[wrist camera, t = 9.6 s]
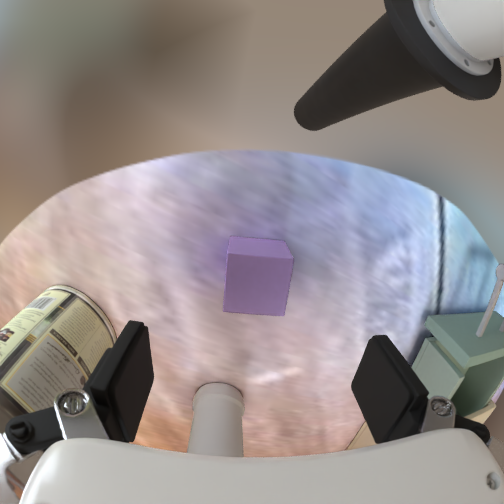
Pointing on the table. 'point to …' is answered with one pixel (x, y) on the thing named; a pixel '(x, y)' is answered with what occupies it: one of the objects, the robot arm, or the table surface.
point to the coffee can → (50, 350)
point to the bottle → (217, 421)
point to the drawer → (464, 355)
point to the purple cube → (257, 276)
